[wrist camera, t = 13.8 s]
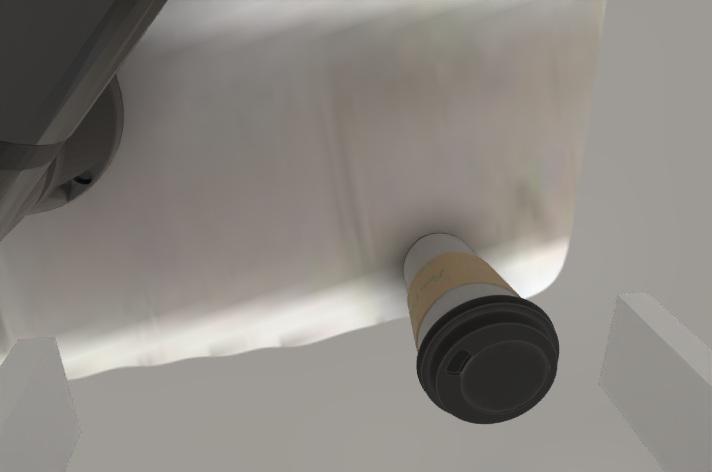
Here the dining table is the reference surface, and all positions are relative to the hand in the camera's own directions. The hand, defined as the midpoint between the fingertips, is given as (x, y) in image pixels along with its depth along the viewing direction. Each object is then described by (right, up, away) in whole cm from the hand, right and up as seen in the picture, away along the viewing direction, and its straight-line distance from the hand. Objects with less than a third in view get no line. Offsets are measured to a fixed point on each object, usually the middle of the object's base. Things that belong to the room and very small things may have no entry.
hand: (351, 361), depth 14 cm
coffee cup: (+7, +1, +36) cm, 37 cm away
